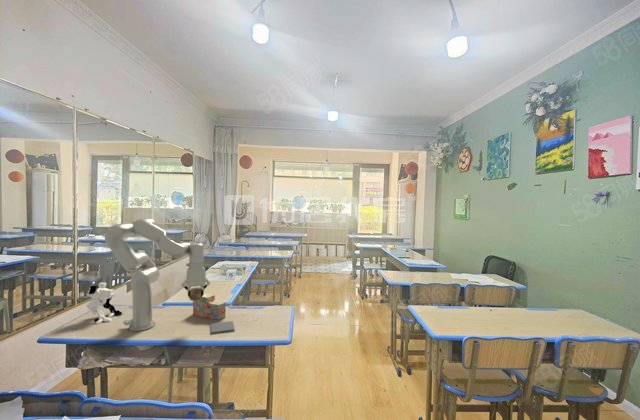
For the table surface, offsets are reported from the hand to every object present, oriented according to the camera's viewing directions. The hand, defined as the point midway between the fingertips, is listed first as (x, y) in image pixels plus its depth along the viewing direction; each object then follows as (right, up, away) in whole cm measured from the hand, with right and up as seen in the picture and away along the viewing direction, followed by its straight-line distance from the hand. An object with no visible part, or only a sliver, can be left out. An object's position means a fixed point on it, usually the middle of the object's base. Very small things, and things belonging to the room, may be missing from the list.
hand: (195, 296), depth 169 cm
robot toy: (-59, -16, +11) cm, 62 cm away
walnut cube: (0, -1, 0) cm, 1 cm away
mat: (+15, -17, -1) cm, 23 cm away
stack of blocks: (+1, -17, +17) cm, 24 cm away
